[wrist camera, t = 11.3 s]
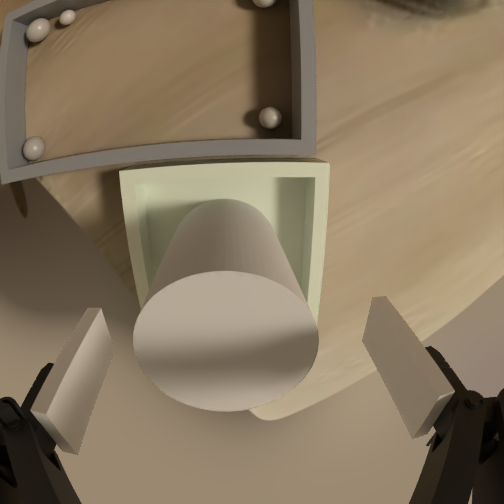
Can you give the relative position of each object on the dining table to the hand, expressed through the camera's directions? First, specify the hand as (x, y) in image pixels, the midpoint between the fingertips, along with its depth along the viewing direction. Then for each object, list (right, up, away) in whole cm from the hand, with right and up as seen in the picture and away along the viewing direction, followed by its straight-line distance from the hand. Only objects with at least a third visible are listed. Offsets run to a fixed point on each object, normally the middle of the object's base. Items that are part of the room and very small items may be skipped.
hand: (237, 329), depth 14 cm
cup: (-1, +4, +10) cm, 11 cm away
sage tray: (-1, +4, +10) cm, 11 cm away
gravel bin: (-7, +17, +4) cm, 19 cm away
